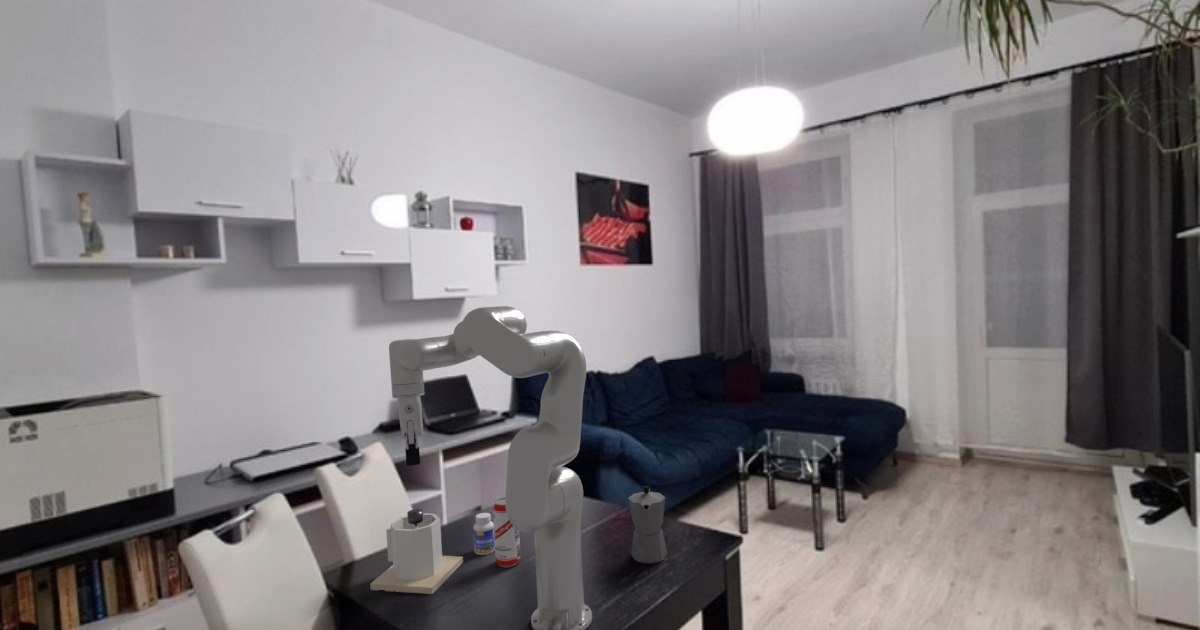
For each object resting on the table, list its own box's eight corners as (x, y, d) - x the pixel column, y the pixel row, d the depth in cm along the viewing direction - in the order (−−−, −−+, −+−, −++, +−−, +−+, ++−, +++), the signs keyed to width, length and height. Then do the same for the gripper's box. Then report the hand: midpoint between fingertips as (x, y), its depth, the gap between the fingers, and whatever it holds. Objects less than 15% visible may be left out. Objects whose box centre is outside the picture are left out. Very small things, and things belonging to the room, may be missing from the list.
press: (432, 594, 134) (429, 536, 133) (370, 589, 137) (367, 533, 137) (463, 562, 149) (460, 510, 149) (406, 559, 153) (403, 508, 152)
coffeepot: (668, 567, 141) (665, 494, 141) (629, 567, 142) (626, 495, 142) (667, 541, 157) (664, 474, 156) (632, 541, 157) (629, 475, 157)
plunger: (425, 577, 138) (421, 518, 138) (393, 575, 140) (390, 517, 140) (442, 561, 147) (438, 505, 146) (411, 559, 148) (408, 505, 148)
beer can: (515, 569, 144) (512, 505, 144) (492, 568, 145) (488, 505, 145) (524, 558, 150) (520, 496, 150) (501, 557, 152) (498, 496, 151)
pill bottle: (475, 557, 152) (473, 520, 152) (474, 548, 158) (472, 513, 157) (496, 553, 154) (494, 517, 154) (494, 545, 159) (492, 510, 159)
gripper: (424, 392, 136) (430, 469, 136) (423, 384, 150) (428, 455, 151) (390, 395, 134) (396, 474, 134) (392, 387, 148) (398, 459, 148)
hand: (413, 464), depth 142 cm, fingers closed
